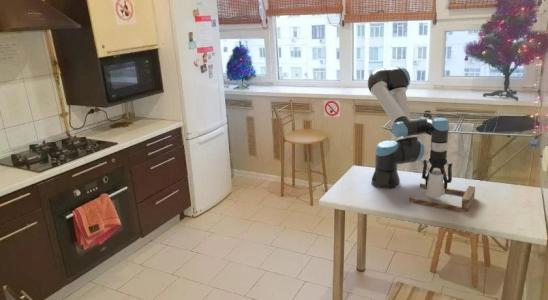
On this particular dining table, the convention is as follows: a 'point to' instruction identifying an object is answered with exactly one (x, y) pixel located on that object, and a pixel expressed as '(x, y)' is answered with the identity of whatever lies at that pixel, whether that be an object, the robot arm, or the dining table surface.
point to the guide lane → (436, 204)
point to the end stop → (468, 198)
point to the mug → (435, 184)
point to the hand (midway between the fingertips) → (435, 193)
